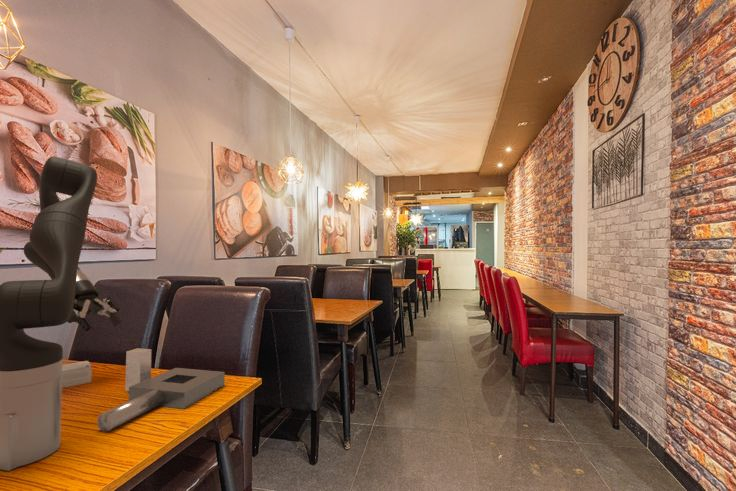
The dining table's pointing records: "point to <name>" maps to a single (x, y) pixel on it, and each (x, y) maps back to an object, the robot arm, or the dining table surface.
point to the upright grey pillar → (137, 366)
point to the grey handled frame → (163, 394)
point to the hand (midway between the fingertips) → (105, 327)
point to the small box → (76, 373)
